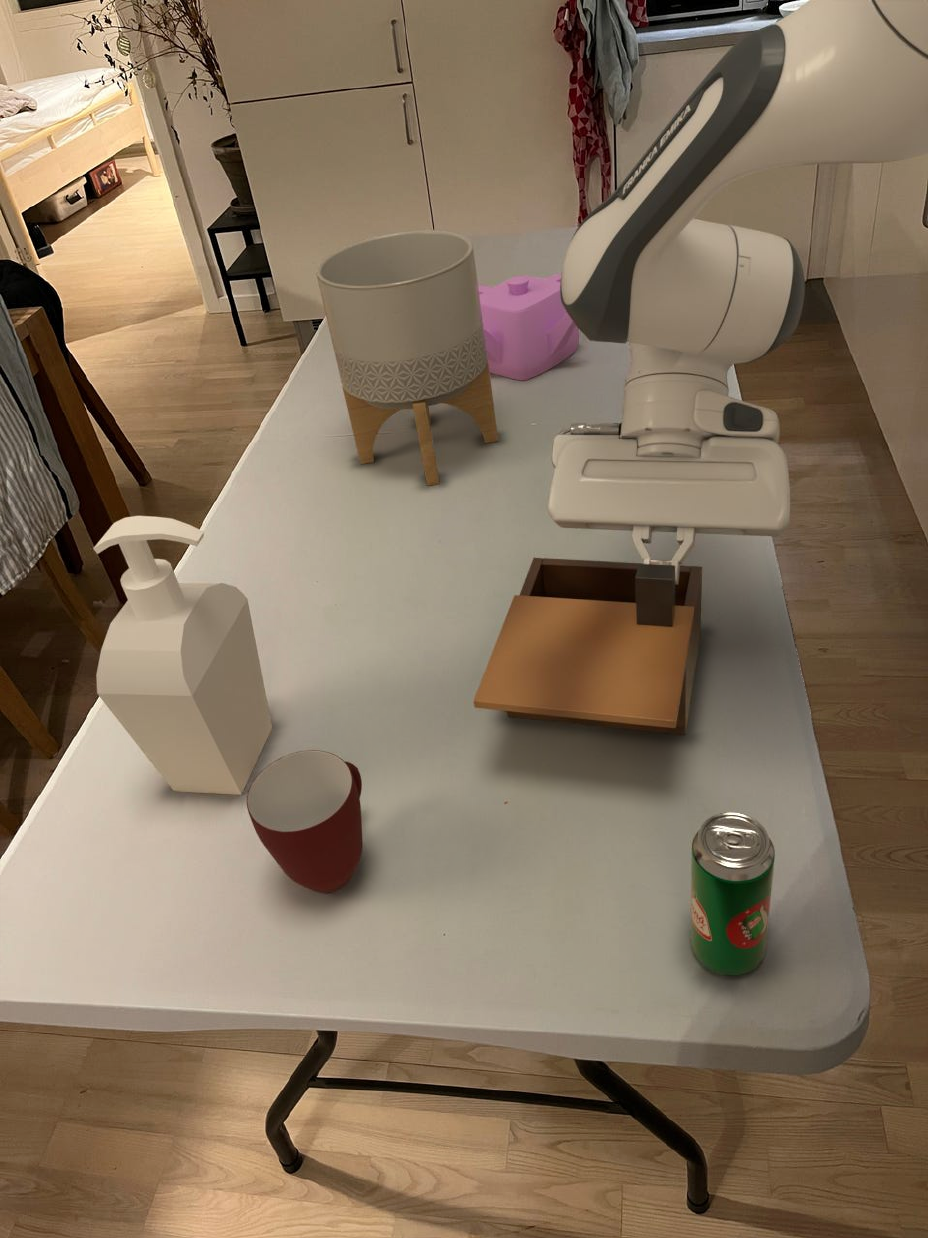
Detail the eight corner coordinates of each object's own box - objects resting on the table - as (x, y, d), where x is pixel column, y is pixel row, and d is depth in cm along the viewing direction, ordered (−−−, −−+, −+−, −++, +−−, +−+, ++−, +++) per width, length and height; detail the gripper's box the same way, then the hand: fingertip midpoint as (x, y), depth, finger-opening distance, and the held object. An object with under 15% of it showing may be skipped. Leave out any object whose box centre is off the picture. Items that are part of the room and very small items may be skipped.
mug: (314, 804, 84) (285, 722, 77) (401, 815, 81) (379, 731, 75) (263, 907, 76) (227, 825, 70) (358, 923, 73) (329, 840, 67)
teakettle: (573, 329, 155) (568, 251, 148) (587, 373, 142) (582, 290, 134) (469, 344, 156) (458, 268, 149) (473, 390, 143) (461, 308, 135)
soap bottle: (261, 814, 83) (162, 573, 67) (155, 808, 86) (36, 574, 70) (304, 713, 93) (226, 481, 77) (208, 710, 95) (113, 484, 79)
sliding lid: (694, 613, 84) (695, 559, 80) (675, 728, 73) (675, 672, 70) (515, 601, 88) (508, 549, 85) (474, 708, 78) (464, 654, 75)
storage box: (700, 632, 94) (702, 566, 89) (685, 735, 84) (686, 667, 79) (540, 620, 99) (533, 557, 94) (507, 717, 89) (497, 651, 84)
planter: (359, 429, 138) (317, 245, 122) (490, 407, 138) (465, 220, 122) (360, 497, 123) (313, 297, 107) (506, 472, 123) (480, 268, 107)
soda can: (688, 914, 70) (690, 806, 63) (761, 917, 69) (771, 807, 62) (692, 978, 66) (693, 871, 59) (768, 982, 65) (780, 873, 58)
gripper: (547, 412, 83) (532, 570, 82) (797, 413, 77) (785, 584, 76) (561, 433, 89) (548, 581, 88) (795, 435, 83) (783, 594, 82)
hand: (660, 583), depth 82 cm, fingers closed, pressing on sliding lid
